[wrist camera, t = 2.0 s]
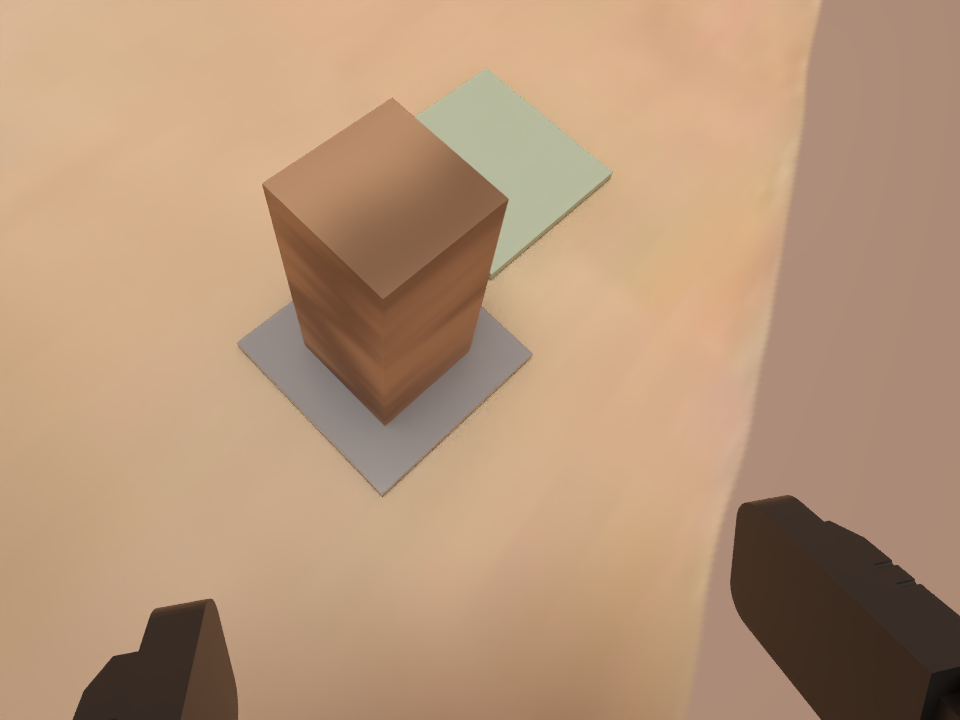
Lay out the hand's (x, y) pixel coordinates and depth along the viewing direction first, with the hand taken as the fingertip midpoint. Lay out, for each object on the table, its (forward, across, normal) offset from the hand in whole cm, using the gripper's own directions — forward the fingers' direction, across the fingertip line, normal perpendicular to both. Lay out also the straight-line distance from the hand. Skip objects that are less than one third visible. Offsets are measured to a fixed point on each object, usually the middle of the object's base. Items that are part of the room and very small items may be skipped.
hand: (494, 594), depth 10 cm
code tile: (+20, 0, +4) cm, 21 cm away
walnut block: (+20, 0, +3) cm, 20 cm away
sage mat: (+27, -6, -3) cm, 28 cm away
